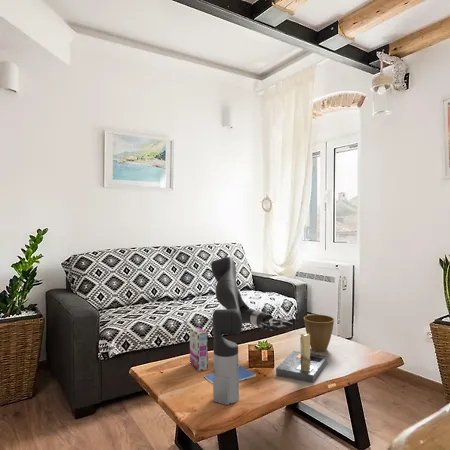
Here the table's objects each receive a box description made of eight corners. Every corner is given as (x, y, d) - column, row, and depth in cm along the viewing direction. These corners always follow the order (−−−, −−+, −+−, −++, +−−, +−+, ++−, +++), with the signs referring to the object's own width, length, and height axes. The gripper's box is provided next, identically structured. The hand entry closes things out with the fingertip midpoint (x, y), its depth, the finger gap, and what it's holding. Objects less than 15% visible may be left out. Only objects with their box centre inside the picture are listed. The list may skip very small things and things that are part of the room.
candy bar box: (208, 369, 170) (208, 332, 170) (198, 371, 168) (197, 334, 167) (199, 361, 180) (199, 326, 180) (189, 362, 178) (189, 327, 178)
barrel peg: (308, 370, 160) (308, 336, 160) (299, 368, 162) (299, 335, 161) (311, 366, 163) (311, 334, 163) (302, 365, 165) (301, 332, 165)
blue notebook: (218, 389, 151) (218, 386, 151) (202, 378, 162) (202, 375, 162) (257, 377, 162) (257, 374, 162) (239, 368, 172) (239, 365, 172)
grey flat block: (313, 382, 155) (313, 374, 155) (276, 375, 163) (276, 367, 162) (327, 362, 176) (327, 355, 176) (293, 357, 184) (293, 350, 184)
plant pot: (298, 346, 198) (298, 316, 198) (322, 343, 204) (322, 313, 203) (315, 356, 184) (314, 323, 184) (340, 352, 190) (340, 320, 189)
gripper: (250, 314, 180) (274, 322, 167) (272, 309, 189) (296, 316, 176) (250, 330, 180) (274, 339, 167) (272, 324, 189) (297, 332, 176)
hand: (286, 327), depth 171 cm, fingers open, 8 cm apart
